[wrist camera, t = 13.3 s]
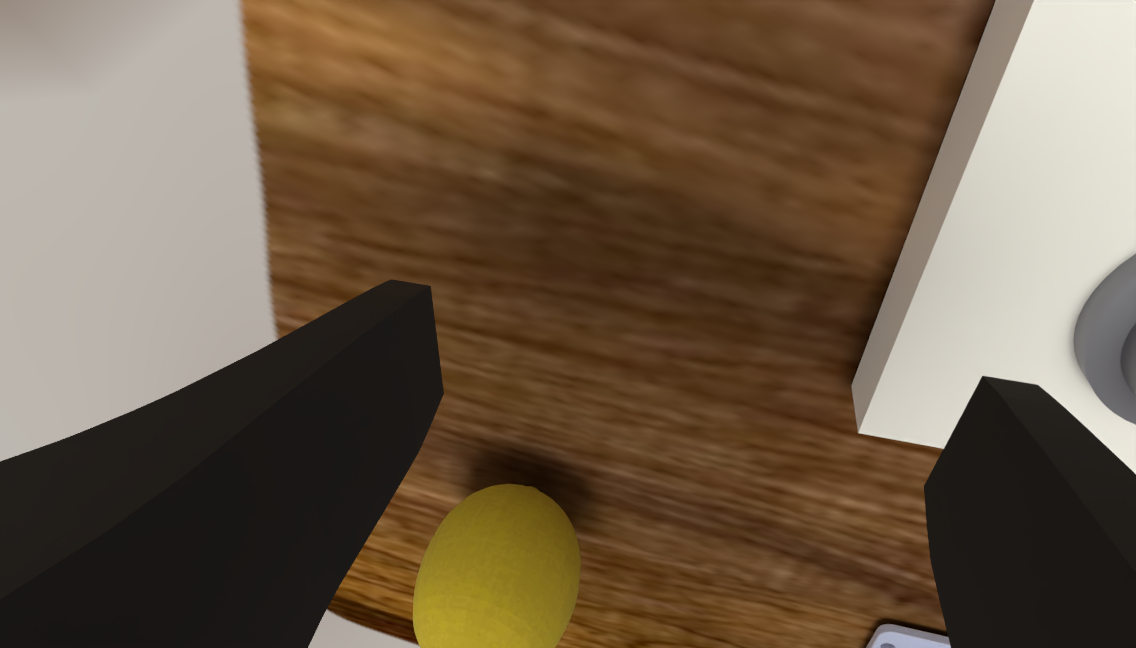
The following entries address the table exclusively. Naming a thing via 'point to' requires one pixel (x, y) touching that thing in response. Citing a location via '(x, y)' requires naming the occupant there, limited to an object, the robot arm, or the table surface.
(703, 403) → the table surface
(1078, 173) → the notched board
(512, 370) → the table surface
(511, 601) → the lemon
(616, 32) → the table surface
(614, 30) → the table surface
